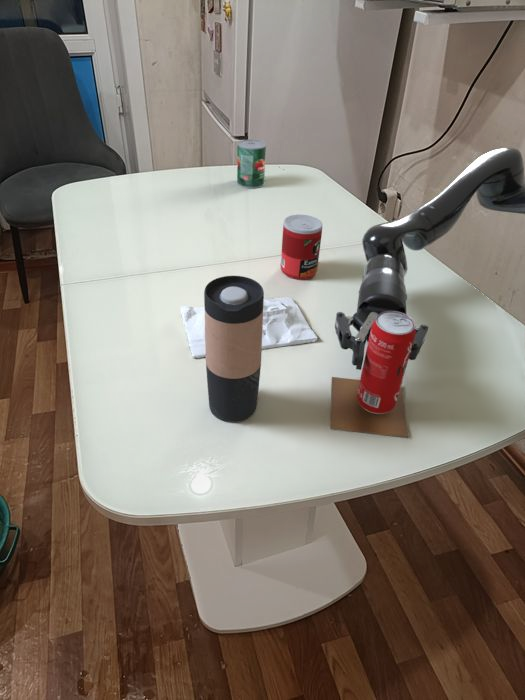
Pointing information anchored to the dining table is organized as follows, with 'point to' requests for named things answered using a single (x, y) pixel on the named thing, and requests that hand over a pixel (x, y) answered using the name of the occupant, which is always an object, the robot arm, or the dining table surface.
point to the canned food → (300, 246)
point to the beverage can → (385, 361)
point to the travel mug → (233, 346)
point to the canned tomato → (251, 163)
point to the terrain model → (278, 328)
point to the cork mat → (364, 412)
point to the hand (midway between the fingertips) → (378, 367)
